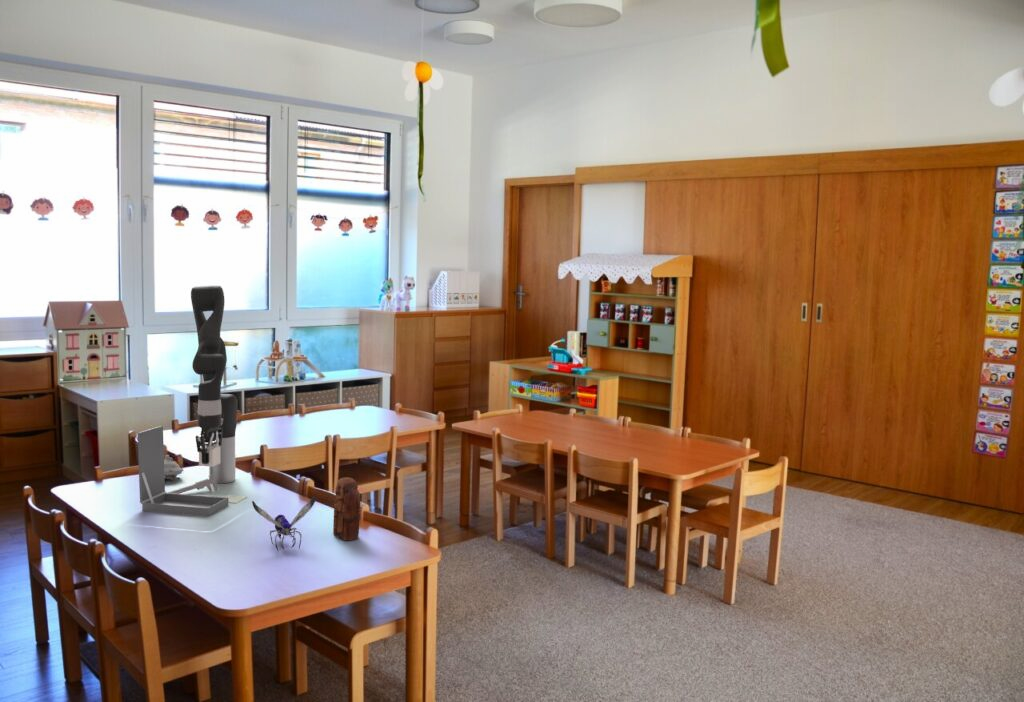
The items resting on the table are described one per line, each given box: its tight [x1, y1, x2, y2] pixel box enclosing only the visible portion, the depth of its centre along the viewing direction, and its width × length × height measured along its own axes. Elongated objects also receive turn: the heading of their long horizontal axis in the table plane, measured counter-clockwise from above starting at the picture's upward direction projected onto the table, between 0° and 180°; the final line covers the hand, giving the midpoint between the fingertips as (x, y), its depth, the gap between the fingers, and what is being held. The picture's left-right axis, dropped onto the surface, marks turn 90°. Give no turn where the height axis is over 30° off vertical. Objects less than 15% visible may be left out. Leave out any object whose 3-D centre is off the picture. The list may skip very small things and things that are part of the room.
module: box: [198, 445, 220, 467], centre depth 278 cm, size 5×5×6 cm
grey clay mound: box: [164, 454, 184, 481], centre depth 308 cm, size 12×12×11 cm
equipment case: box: [137, 425, 229, 517], centre depth 271 cm, size 13×25×26 cm, turn 82°
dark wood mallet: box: [332, 476, 361, 541], centre depth 251 cm, size 12×6×18 cm, turn 37°
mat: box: [222, 494, 248, 504], centre depth 284 cm, size 8×8×1 cm
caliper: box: [166, 475, 218, 494], centre depth 290 cm, size 21×1×6 cm, turn 129°
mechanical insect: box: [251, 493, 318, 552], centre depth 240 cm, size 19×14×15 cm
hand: (209, 461), depth 278 cm, fingers closed on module, 5 cm apart
